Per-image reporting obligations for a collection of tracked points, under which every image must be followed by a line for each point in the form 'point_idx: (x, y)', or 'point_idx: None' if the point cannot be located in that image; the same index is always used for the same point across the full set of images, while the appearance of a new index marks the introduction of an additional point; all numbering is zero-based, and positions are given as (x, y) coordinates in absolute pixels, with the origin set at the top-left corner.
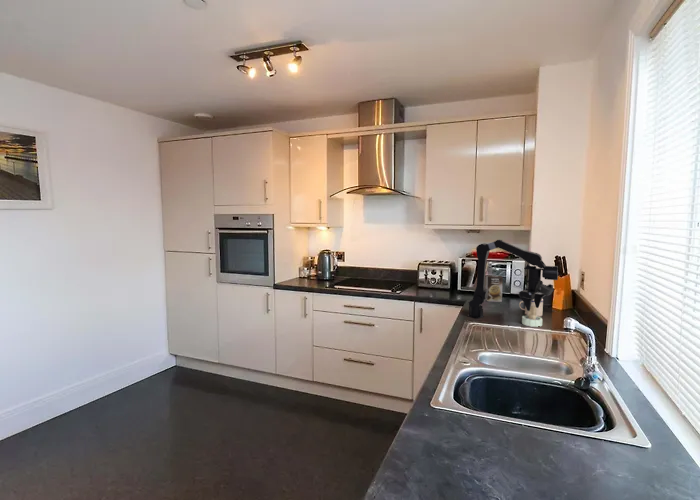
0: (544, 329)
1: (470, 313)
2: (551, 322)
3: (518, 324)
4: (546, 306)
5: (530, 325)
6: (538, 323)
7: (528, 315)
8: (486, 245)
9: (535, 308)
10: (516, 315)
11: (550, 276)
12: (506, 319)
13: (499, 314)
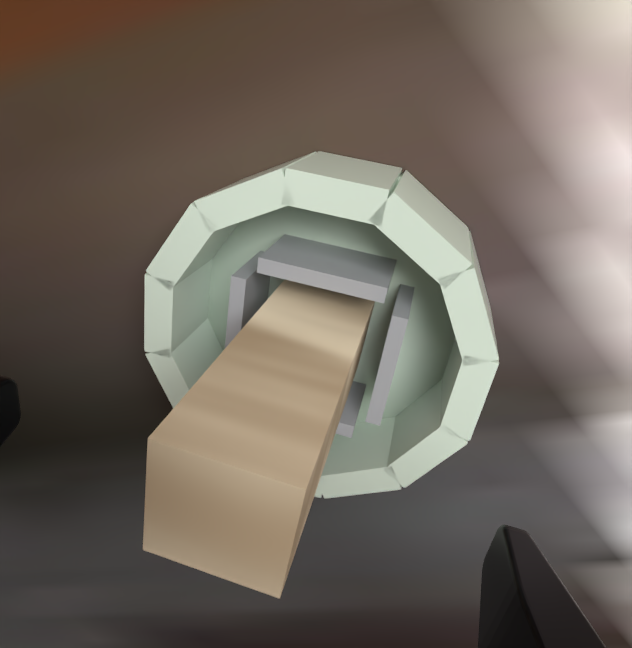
0: (565, 39)
1: None
2: (13, 73)
3: (480, 458)
4: None
5: (489, 308)
6: (425, 202)
7: None
8: None
9: (216, 431)
10: (74, 514)
11: None
12: (324, 587)
13: (175, 644)
